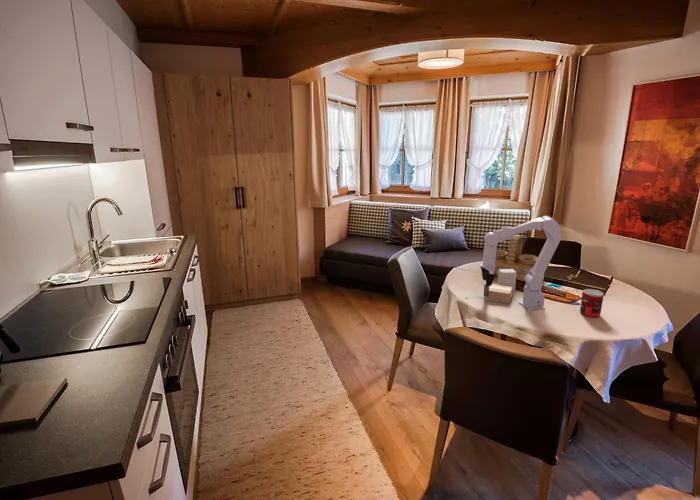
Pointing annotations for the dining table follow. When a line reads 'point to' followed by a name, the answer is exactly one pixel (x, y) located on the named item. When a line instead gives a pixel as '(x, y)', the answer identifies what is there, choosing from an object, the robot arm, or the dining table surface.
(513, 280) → the small box
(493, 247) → the robot arm
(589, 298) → the canned food
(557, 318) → the dining table surface
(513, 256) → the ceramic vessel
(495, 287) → the carton
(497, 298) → the tan cardboard box
